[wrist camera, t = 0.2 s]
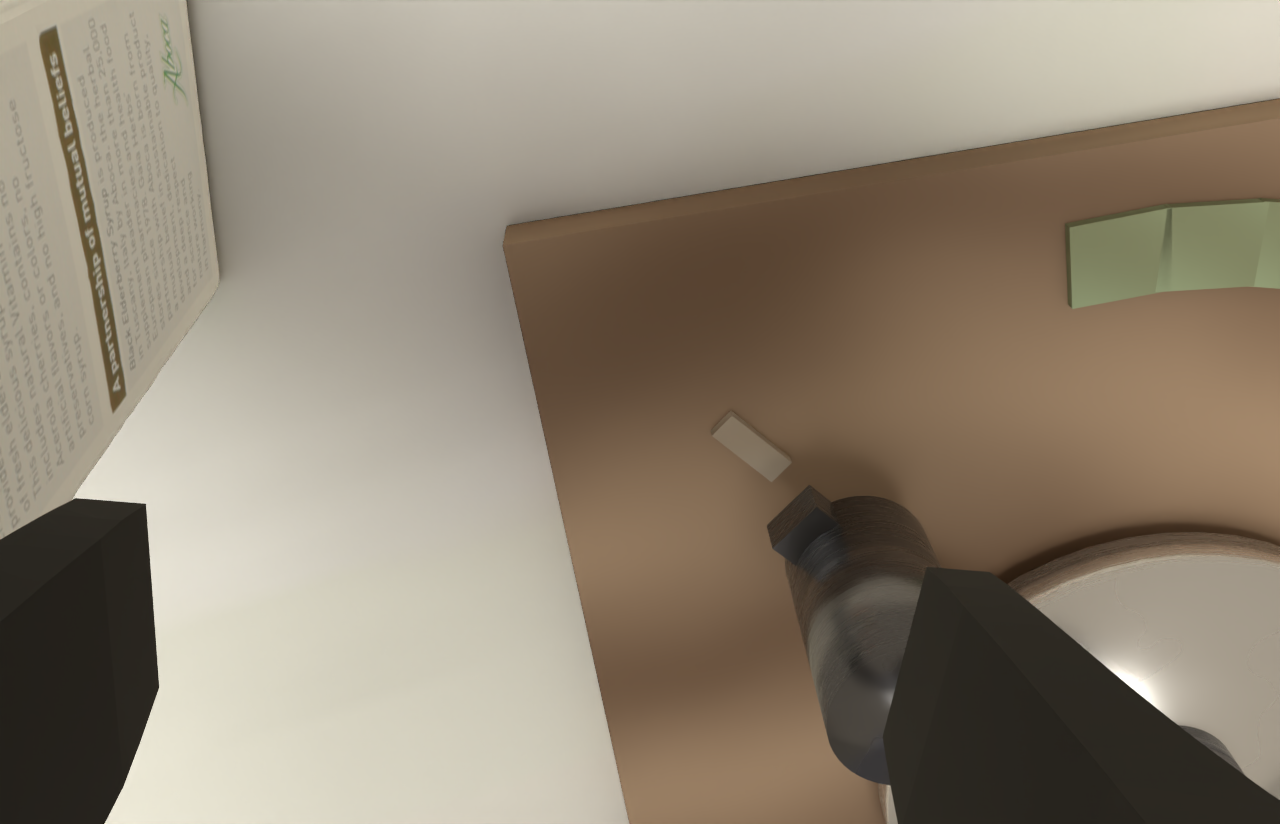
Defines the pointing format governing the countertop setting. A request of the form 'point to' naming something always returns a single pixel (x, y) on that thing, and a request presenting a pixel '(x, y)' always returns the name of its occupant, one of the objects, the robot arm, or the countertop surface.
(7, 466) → the syrup box
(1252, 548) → the dial
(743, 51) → the countertop surface
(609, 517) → the plate
